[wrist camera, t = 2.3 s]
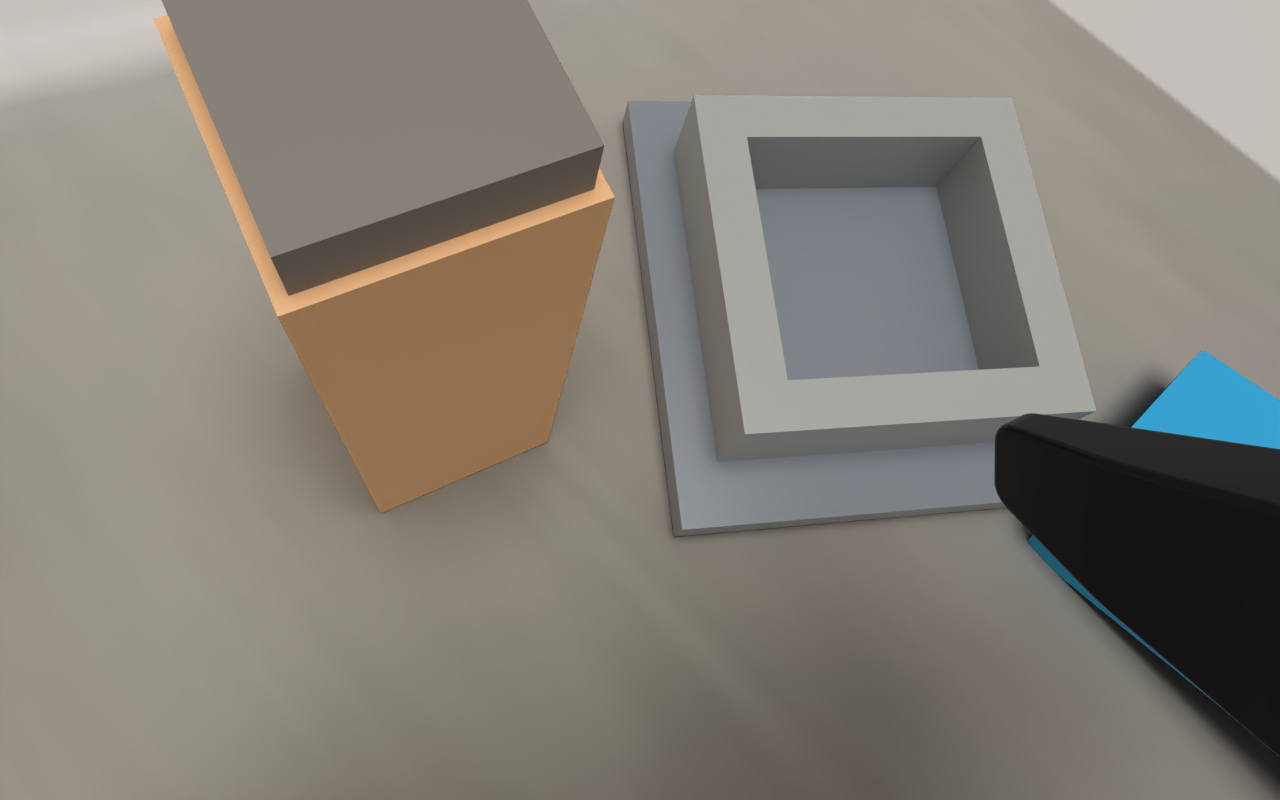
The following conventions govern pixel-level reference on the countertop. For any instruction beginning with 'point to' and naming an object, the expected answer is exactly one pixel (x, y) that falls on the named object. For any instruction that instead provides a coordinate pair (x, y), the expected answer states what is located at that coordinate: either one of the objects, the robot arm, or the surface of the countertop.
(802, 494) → the jig cradle
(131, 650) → the countertop surface
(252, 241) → the block
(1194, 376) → the blue block
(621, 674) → the countertop surface
